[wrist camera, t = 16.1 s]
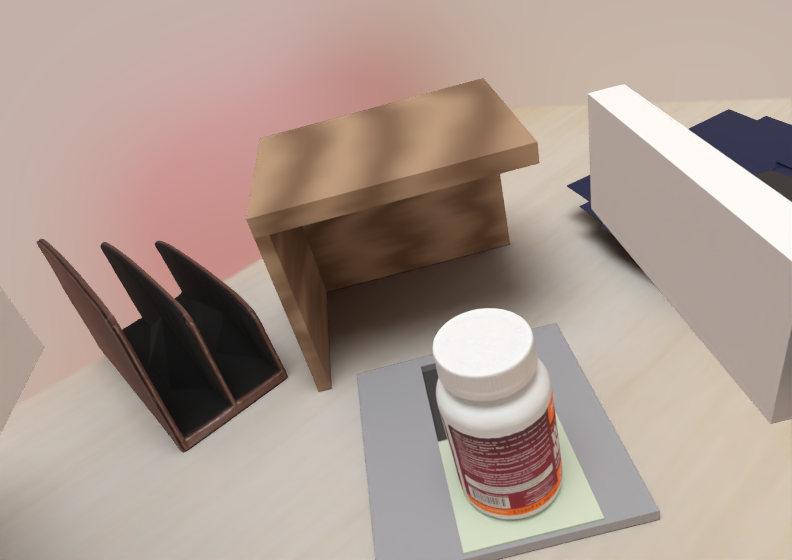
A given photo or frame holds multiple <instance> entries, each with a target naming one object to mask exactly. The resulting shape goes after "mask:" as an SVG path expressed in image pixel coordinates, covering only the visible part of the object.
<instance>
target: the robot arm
mask: <svg viewBox="0 0 792 560" xmlns="http://www.w3.org/2000/svg"><path fill="white" fill-rule="evenodd" d="M588 119H589V152H590V185H591V209H592V210H593V211H594V212H595V214H596V215H597V216H598V217H599V218H600V220H601V221H602V222H603V223H604V224H605V226H606V227H607V228H608V229H609V230H610V232H611V233H612V234H613V235H614V236H615V238H616V239H617V240H618V241H619V242H620V244H621V245H622V246H623V247H624V248H625V250H626V251H627V252H628V253H629V254H630V256H631V257H632V258H633V259H634V260H635V262H636V263H637V264H638V265H639V266H640V268H641V269H642V270H643V271H644V272H645V274H646V275H647V276H648V277H649V278H650V280H651V281H652V282H653V283H654V284H655V286H656V287H657V288H658V289H659V290H660V292H661V293H662V294H663V295H664V296H665V298H666V299H667V300H668V301H669V302H670V304H671V305H672V306H673V307H674V308H675V310H676V311H677V312H678V313H679V314H680V316H681V317H682V318H683V319H684V320H685V322H686V323H687V324H688V325H689V326H690V328H691V329H692V330H693V331H694V332H695V334H696V335H697V336H698V337H699V338H700V340H701V341H702V342H703V343H704V344H705V346H706V347H707V348H708V349H709V350H710V352H711V353H712V354H713V355H714V357H715V358H716V359H717V360H718V361H719V363H720V364H721V365H722V366H723V367H724V369H725V370H726V371H727V372H728V373H729V375H730V376H731V377H732V378H733V379H734V381H735V382H736V383H737V384H738V385H739V387H740V388H741V389H742V390H743V391H744V393H745V394H746V395H747V396H748V397H749V399H750V400H751V401H752V402H753V403H754V405H755V406H756V407H757V408H758V409H759V411H760V412H761V413H762V414H763V415H764V417H765V418H766V419H767V420H768V421H769V423H770V424H773V423H777V422H781V421H785V420H789V419H792V177H791V176H787V175H784V174H781V173H778V172H775V171H771V170H770V171H766V172H763V173H759V174H755V175H752V174H751V173H750V172H748V171H747V170H745V169H744V168H742V167H741V166H740V165H738V164H737V163H735V162H734V161H733V160H731V159H730V158H728V157H727V156H725V155H724V154H723V153H721V152H720V151H718V150H717V149H715V148H714V147H713V146H711V145H710V144H708V143H707V142H705V141H704V140H703V139H701V138H700V137H698V136H697V135H696V134H694V133H693V132H691V131H690V130H688V129H687V128H686V127H684V126H683V125H681V124H680V123H678V122H677V121H676V120H674V119H673V118H671V117H670V116H669V115H667V114H666V113H664V112H663V111H661V110H660V109H659V108H657V107H656V106H654V105H653V104H651V103H650V102H649V101H647V100H646V99H644V98H643V97H641V96H640V95H639V94H637V93H636V92H634V91H633V90H631V89H630V88H629V87H627V86H626V85H624V84H623V85H619V86H615V87H612V88H607V89H603V90H600V91H596V92H592V93H588ZM43 349H44V346H43V344H42V343H41V341H40V340H39V339H38V337H37V336H36V334H34V332H33V330H32V329H31V328H30V326H29V325H28V324H27V322H26V321H25V319H24V318H23V317H22V315H21V314H20V313H19V311H18V310H17V309H16V307H15V306H14V305H13V303H12V302H11V300H10V299H9V298H8V296H7V295H6V294H5V292H4V291H3V290H2V288H1V287H0V434H1V432H2V430H3V428H4V426H5V424H6V422H7V420H8V418H9V416H10V414H11V412H12V410H13V408H14V406H15V404H16V402H17V400H18V398H19V396H20V394H21V392H22V391H23V389H24V387H25V385H26V383H27V381H28V379H29V377H30V375H31V373H32V371H33V369H34V367H35V365H36V363H37V361H38V359H39V357H40V355H41V353H42V351H43Z"/></svg>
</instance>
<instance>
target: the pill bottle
mask: <svg viewBox="0 0 792 560" xmlns="http://www.w3.org/2000/svg"><path fill="white" fill-rule="evenodd" d="M433 356H434V360H435V364H436V369H437V373H438V377H439V378H438V381H437V385H436V399H437V405H438V409H439V412H440V415H441V419H442V422H443V425H444V429H445V432H446V436H447V439H448V442H449V446H450V449H451V453H452V456H453V460H454V464H455V467H456V471H457V474H458V477H459V481H460V484H461V487H462V490H463V492H464V494H465V495H466V497H467V499H468V500H469V501H470V502H471V503H472V504H473V505H474V506H475V507H476V508H477V509H478V510H479V511H481V512H483V513H485V514H487V515H490V516H492V517H496V518H501V519H519V518H525V517H528V516H532V515H534V514H536V513H538V512H540V511H541V510H543V509H544V508H546V507H547V506H548V505H549V504H550V503H551V502H552V501H553V500H554V499H555V497H556V496H557V494H558V492H559V490H560V487H561V483H562V475H563V473H562V461H561V453H560V444H559V437H558V429H557V422H556V415H555V406H554V400H553V393H552V387H551V380H550V377H549V374H548V371H547V369H546V367H545V366H544V364H543V363H542V361H541V360H540V359H539V358H538V357H537V351H536V348H535V341H534V336H533V332H532V330H531V328H530V326H529V324H528V323H527V322H526V321H525V320H524V319H523V318H522V317H521V316H519V315H517V314H515V313H513V312H511V311H507V310H503V309H497V308H483V309H476V310H471V311H468V312H465V313H462V314H460V315H458V316H456V317H454V318H452V319H451V320H449V321H448V322H446V323H445V324H444V325H443V326H442V327H441V328H440V330H439V331H438V332H437V334H436V336H435V338H434V341H433Z"/></svg>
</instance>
